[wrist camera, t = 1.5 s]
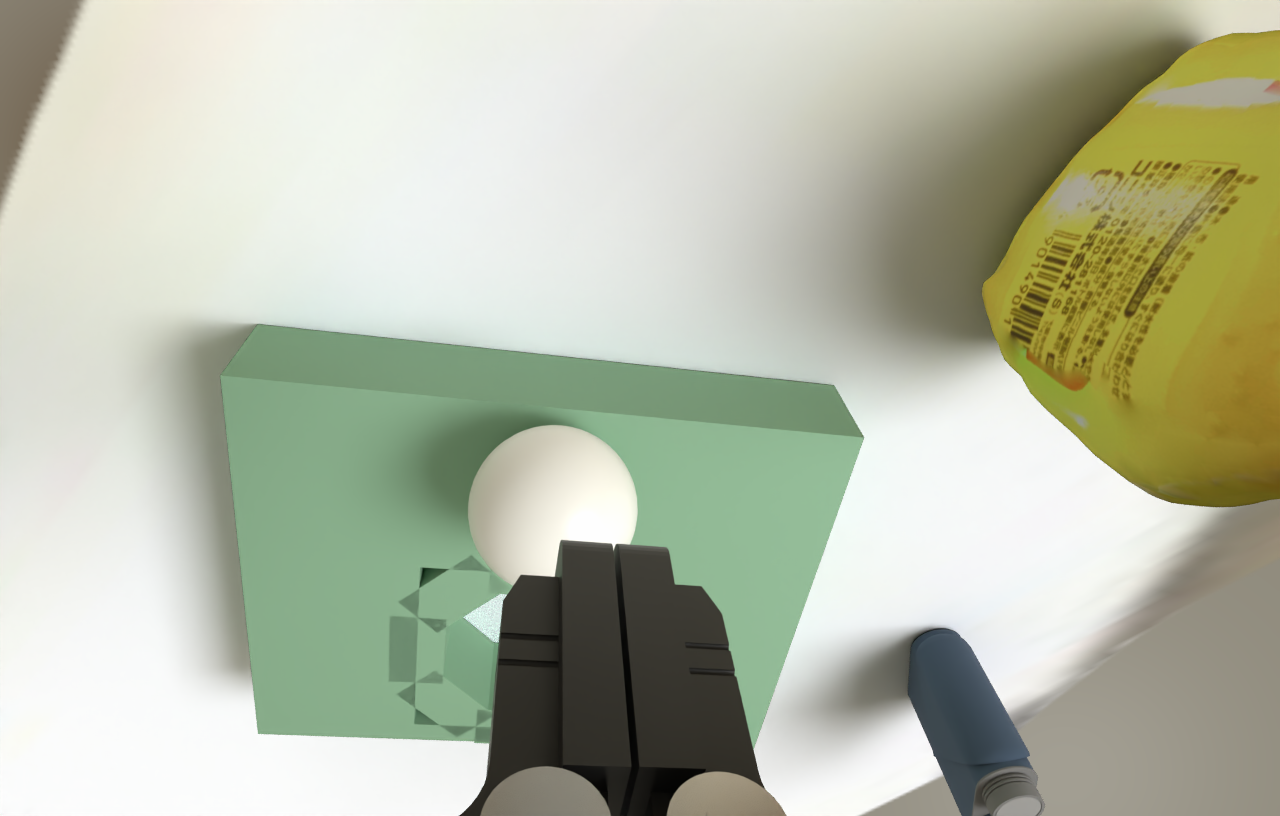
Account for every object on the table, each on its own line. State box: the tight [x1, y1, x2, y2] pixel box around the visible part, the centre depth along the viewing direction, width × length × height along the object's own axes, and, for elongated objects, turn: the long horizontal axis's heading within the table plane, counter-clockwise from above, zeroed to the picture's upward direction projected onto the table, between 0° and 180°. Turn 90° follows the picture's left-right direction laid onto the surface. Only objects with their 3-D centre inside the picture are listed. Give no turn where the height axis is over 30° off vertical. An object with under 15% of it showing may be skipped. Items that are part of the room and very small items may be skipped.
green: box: [220, 324, 864, 749], centre depth 26 cm, size 16×20×16 cm
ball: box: [468, 425, 638, 586], centre depth 25 cm, size 5×5×5 cm
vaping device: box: [908, 629, 1045, 816], centre depth 33 cm, size 3×5×12 cm, turn 7°
